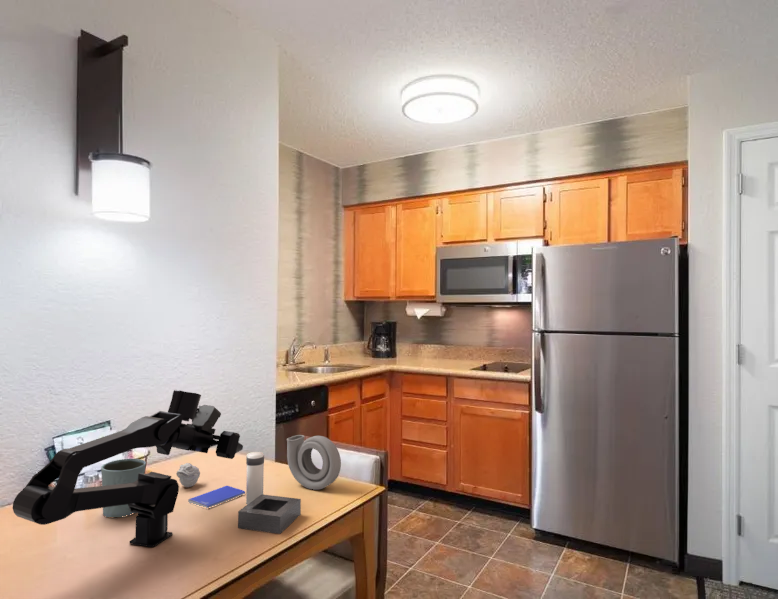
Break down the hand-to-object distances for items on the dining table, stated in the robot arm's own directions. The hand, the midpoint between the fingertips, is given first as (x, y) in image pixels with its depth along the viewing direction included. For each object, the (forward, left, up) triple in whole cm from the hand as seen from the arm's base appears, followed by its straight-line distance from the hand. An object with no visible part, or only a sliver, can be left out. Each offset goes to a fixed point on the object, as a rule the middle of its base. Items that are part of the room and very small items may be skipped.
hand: (229, 445), depth 133 cm
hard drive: (+2, +5, -16) cm, 17 cm away
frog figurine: (+7, +18, -16) cm, 25 cm away
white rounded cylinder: (+2, -7, -15) cm, 17 cm away
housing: (-7, -16, -15) cm, 23 cm away
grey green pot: (-12, +23, -16) cm, 30 cm away
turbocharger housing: (+17, -17, -16) cm, 29 cm away
